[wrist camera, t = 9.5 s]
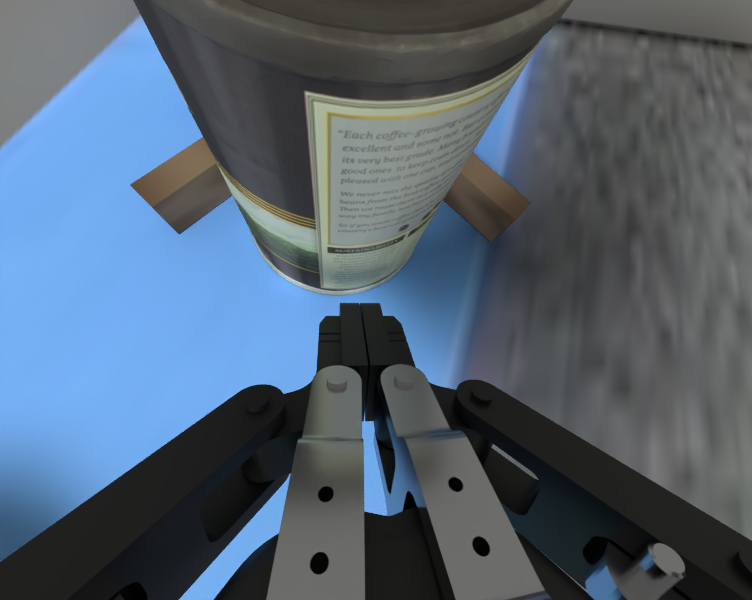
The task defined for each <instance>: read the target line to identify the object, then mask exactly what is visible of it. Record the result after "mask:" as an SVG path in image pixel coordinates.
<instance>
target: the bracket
mask: <svg viewBox="0 0 752 600" xmlns="http://www.w3.org/2000/svg"><path fill="white" fill-rule="evenodd" d="M131 186H132V187H133V188H134V189H135V191H136V192H137V193H138V194H139V195H140V196H141V197H142V198H143V199H144V200H145V201H146V202H147V203H148V204H149V205H150V206H151V207H152V208H153V209H154V210H155V211H156V212H157V213H158V214H159V215H160V216H161V217H162V218H163V219H164V220H165V221H166V222H167V223H168V224H169V225H170V226H171V227H172V228H173V229H174V230H175V231H176V232H177V233H178V234H180V233H182V232H183V231H184V230H186V229H187V228H188V227H190V226H191V225H192V224H194V223H195V222H196V221H198V220H199V219H201V218H202V217H203V216H205V215H206V214H207V213H209V212H210V211H211V210H213V209H214V208H215V207H217V206H218V205H220V204H221V203H222V202H224V201H225V200H226V199H228V198H229V197H230V196H232V193H231V191H230V189H229V187H228V185H227V183H226V181H225V179H224V177H223V175H222V173H221V171H220V169H219V167H218V165H217V163H216V161H215V159H214V157H213V155H212V153H211V151H210V149H209V147H208V145H207V143H206V141H205V139H204V137H203V138H201V139H200V140H198V141H197V142H195V143H193V144H192V145H190V146H189V147H187V148H186V149H184V150H183V151H181V152H180V153H178V154H177V155H175V156H174V157H172V158H170V159H169V160H167V161H166V162H164V163H163V164H161V165H160V166H158V167H157V168H155V169H154V170H152V171H151V172H149V173H147V174H146V175H144V176H143V177H141V178H140V179H138V180H137V181H135V182H134V183H132V184H131ZM444 201H445V202H446V203H447V204H448V205H449V206H450V207H452V208H453V209H454V210H455V211H456V212H457V213H458V214H460V215H461V216H462V217H463V218H464V219H465V220H466V221H468V222H469V223H470V224H471V225H472V226H473V227H474V228H476V229H477V230H478V231H479V232H480V233H481V234H482V235H484V236H485V237H486V238H487V239H488V240H489V241H490V242H492V241H493V240H494V239H495V238H496V237H497V236H498V235H500V234H501V233H502V232H503V231H504V230H505V229H506V228H507V227H508V226H509V225H510V224H512V223H513V222H514V221H515V220H516V219H517V218H518V217H519V215H520V214H521V213H522V212H523V211H524V210H525V209H526V208H527V207H528V205H529V204H530V203H531V202H529V201H528V200H527V199H526V198H525V197H524V196H522V195H521V194H520V193H519V192H518V191H517V190H515V189H514V188H513V187H512V186H511V185H510V184H508V183H507V182H506V181H505V180H504V179H502V178H501V177H500V176H499V175H498V174H497V173H495V172H494V171H493V170H492V169H491V168H490V167H488V166H487V165H486V164H485V163H484V162H482V161H481V160H480V159H479V158H478V157H477V156H475V155H474V154H473V153H472V154H471V155H470V157H469V159H468V160H467V162H466V163H465V165H464V167H463V168H462V170H461V172H460V173H459V175H458V177H457V178H456V180H455V182H454V183H453V185H452V186H451V188H450V190H449V191H448V193H447V195H446V197H445V198H444Z"/></svg>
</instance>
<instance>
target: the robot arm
mask: <svg viewBox="0 0 752 600" xmlns="http://www.w3.org/2000/svg"><path fill="white" fill-rule="evenodd" d="M364 412H365V421H374V428H375V433H374V447H375V452H376V457H377V461H378V466H379V471H380V475H381V480H382V485H383V490H384V494H385V499H386V506H387V516H383V515H378V514H373V513H368V512H364V447H363V439H362V421H364ZM493 444H494V445H496V446H497V447H498V448H500V449H501V450H503V451H504V452H505V453H507V454H508V455H510V456H511V457H512V458H514V459H515V460H517V461H518V462H519V463H521V464H522V465H524V466H525V467H526V468H528V469H529V470H530V471H532V472H533V473H534V474H535V475H536V476H537V478H538V479H539V480H537V479H534V478H533V477H531V476H530V475H528V474H527V473H525V472H524V471H523V470H521V469H520V468H519V467H517V466H516V465H514V464H513V463H512V462H510V461H509V460H508V459H506V458H505V457H503V456H502V455H501V454H499V453H498V452H497V451H495V450H494V449H492V448H491V447H492V445H493ZM290 473H291V476H290V481H289V486H288V491H287V496H286V501H285V506H284V511H283V516H282V522H281V527H280V532H279V534H277V535H275V536H274V537H272V538H271V539H269V540H268V541H266V542H265V543H264V544H263V545H261V546H260V547H259V548H258V549H257V550H255V551H254V552H253V553H252V554H251V555H250V556H249V557H248V558H247V559H246V560H245V561H244V562H243V564H242V565H241V566H240V567H239V568H238V570H237V571H236V572H235V573H234V575H233V576H232V577H231V578H230V580H229V581H228V582H227V583H226V585H225V586H224V587H223V589H222V590H221V591H220V592H219V594H218V595H217V596H216V597H215V599H214V600H752V541H751V540H749V539H748V538H746V537H744V536H743V535H741V534H739V533H738V532H736V531H735V530H733V529H731V528H730V527H728V526H726V525H725V524H723V523H721V522H720V521H718V520H716V519H715V518H713V517H711V516H710V515H708V514H706V513H705V512H703V511H701V510H700V509H698V508H696V507H695V506H693V505H691V504H690V503H688V502H686V501H685V500H683V499H681V498H680V497H678V496H676V495H675V494H673V493H671V492H670V491H668V490H666V489H665V488H663V487H661V486H660V485H658V484H656V483H655V482H653V481H651V480H650V479H648V478H646V477H645V476H643V475H641V474H640V473H638V472H636V471H635V470H633V469H631V468H630V467H628V466H626V465H625V464H623V463H621V462H620V461H618V460H616V459H615V458H613V457H611V456H610V455H608V454H606V453H605V452H603V451H601V450H600V449H598V448H596V447H595V446H593V445H591V444H590V443H588V442H586V441H585V440H583V439H581V438H580V437H578V436H576V435H575V434H573V433H571V432H570V431H568V430H566V429H565V428H563V427H561V426H560V425H558V424H556V423H555V422H553V421H551V420H550V419H548V418H546V417H545V416H543V415H541V414H540V413H538V412H536V411H535V410H533V409H531V408H530V407H528V406H526V405H525V404H523V403H521V402H520V401H518V400H516V399H515V398H513V397H511V396H510V395H508V394H506V393H505V392H503V391H501V390H500V389H498V388H496V387H495V386H493V385H491V384H489V383H487V382H484V381H481V380H466V381H464V382H462V383H460V384H459V385H458V387H457V390H453V389H449V388H444V387H440V386H436V385H434V384H431V383H430V382H428V380H427V378H426V376H425V375H424V374H423V372H421V371H420V370H419V369H417V368H416V367H415V364H414V361H413V358H412V355H411V352H410V349H409V346H408V343H407V342H406V337H405V334H404V331H403V328H402V325H401V323H400V322H399V321H398V320H397V319H396V318H395V317H394V316H383V314H382V310H381V306H380V303H360V305H359V303H340V315H339V316H325V318H324V319H323V320H322V321H321V323H320V325H319V343H318V358H317V372H316V375H315V376H314V378H313V380H312V381H311V383H309V384H308V385H307V386H305V387H304V388H302V389H299V390H297V391H294V392H290V393H286V394H283V393H282V391H281V390H280V389H278V388H276V387H274V386H271V385H263V384H261V385H254V386H250V387H248V388H245V389H243V390H241V391H240V392H238V393H237V394H236V395H234V396H233V397H231V398H230V399H228V400H227V401H226V402H224V403H223V404H221V405H220V406H219V407H217V408H216V409H214V410H213V411H212V412H210V413H209V414H207V415H206V416H205V417H203V418H202V419H200V420H199V421H198V422H196V423H195V424H193V425H192V426H191V427H189V428H188V429H186V430H185V431H184V432H182V433H181V434H179V435H178V436H177V437H175V438H174V439H172V440H171V441H170V442H168V443H167V444H165V445H164V446H163V447H161V448H160V449H158V450H157V451H156V452H154V453H153V454H151V455H150V456H149V457H147V458H146V459H144V460H143V461H142V462H140V463H139V464H137V465H136V466H134V467H133V468H132V469H130V470H129V471H127V472H126V473H125V474H123V475H122V476H120V477H119V478H118V479H116V480H115V481H113V482H112V483H111V484H109V485H108V486H106V487H105V488H104V489H102V490H101V491H99V492H98V493H97V494H95V495H94V496H92V497H91V498H90V499H88V500H87V501H85V502H84V503H83V504H81V505H80V506H78V507H77V508H76V509H74V510H73V511H71V512H70V513H69V514H67V515H66V516H64V517H63V518H62V519H60V520H59V521H57V522H56V523H55V524H53V525H52V526H50V527H49V528H48V529H46V530H45V531H43V532H42V533H40V534H39V535H38V536H36V537H35V538H33V539H32V540H31V541H29V542H28V543H26V544H25V545H24V546H22V547H21V548H19V549H18V550H17V551H15V552H14V553H12V554H11V555H10V556H8V557H7V558H5V559H4V560H3V561H1V562H0V600H179V599H180V598H181V596H182V595H183V594H184V593H185V592H186V591H187V590H188V589H189V588H190V587H191V585H192V584H193V583H194V582H195V581H196V580H197V579H198V578H199V577H200V575H201V574H202V573H203V572H204V571H205V570H206V569H207V568H208V567H209V565H210V564H211V563H212V562H213V561H214V560H215V559H216V558H217V557H218V555H219V554H220V553H221V552H222V551H223V550H224V549H225V548H226V547H227V545H228V544H229V543H230V542H231V541H232V540H233V539H234V538H235V537H236V536H237V534H238V533H239V532H240V531H241V530H242V529H243V528H244V527H245V526H246V524H247V523H248V522H249V521H250V520H251V519H252V518H253V517H254V516H255V514H256V513H257V512H258V511H259V510H260V509H261V508H262V507H263V506H264V504H265V503H266V502H267V501H268V500H269V499H270V498H271V497H272V496H273V494H274V493H275V492H276V491H277V490H278V489H279V488H280V487H281V486H282V484H283V483H284V482H285V481H286V479H287V478H288V476H289V474H290ZM513 528H514V529H513ZM516 530H517V531H518V532H517V531H516ZM536 547H537V548H538V549H537V548H536ZM542 552H543V553H544V554H545V555H546V556H547V557H546V556H545V555H544V554H543V553H542ZM549 558H550V559H551V560H552V561H553V562H554V563H555V564H557V565H558V566H559V567H560V568H561V569H563V570H564V571H565V572H566V573H567V574H568V575H570V576H571V577H572V578H573V579H574V580H575V581H577V582H578V583H579V584H580V585H581V586H582V587H584V588H585V589H586V590H587V592H586V591H584V590H583V589H582V588H581V587H580V586H579V585H578V584H577V583H575V582H574V581H573V580H572V579H571V578H570V577H569V576H568V575H567V574H565V573H564V572H563V571H562V570H561V569H560V568H559V567H558V566H556V565H555V564H554V563H553V562H552V561H551V560H550V559H549Z"/></svg>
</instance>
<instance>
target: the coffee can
mask: <svg viewBox="0 0 752 600" xmlns="http://www.w3.org/2000/svg"><path fill="white" fill-rule="evenodd" d="M572 1H573V0H134V2H135V4H136V6H137V8H138V10H139V12H140V14H141V16H142V18H143V20H144V22H145V24H146V26H147V28H148V30H149V32H150V34H151V36H152V38H153V40H154V42H155V44H156V46H157V48H158V50H159V52H160V54H161V56H162V58H163V60H164V61H165V63H166V64H167V66H168V68H169V70H170V72H171V74H172V76H173V79H174V81H175V83H176V85H177V87H178V89H179V91H180V92H181V94H182V96H183V99H184V101H185V103H186V105H187V107H188V109H189V111H190V113H191V114H192V116H193V118H194V120H195V122H196V124H197V126H198V128H199V129H200V131H201V133H202V135H203V137H204V139H205V141H206V143H207V145H208V147H209V149H210V151H211V153H212V155H213V157H214V159H215V161H216V163H217V165H218V167H219V169H220V171H221V173H222V175H223V177H224V179H225V181H226V183H227V185H228V187H229V189H230V191H231V193H232V195H233V197H234V199H235V201H236V203H237V205H238V207H239V209H240V211H241V213H242V215H243V217H244V218H245V221H246V223H247V225H248V226H249V228H250V230H251V233H252V236H253V239H254V241H255V244H256V246H257V248H258V250H259V252H260V253H261V255H262V257H263V258H264V259H265V260H266V262H267V263H268V264H269V265H270V266H271V267H272V268H273V269H274V270H275V271H276V272H277V273H278V274H279V275H281V276H282V277H284V278H285V279H286V280H288V281H290V282H291V283H293V284H295V285H297V286H299V287H302V288H304V289H307V290H310V291H313V292H317V293H321V294H328V295H348V294H355V293H360V292H364V291H367V290H370V289H372V288H375V287H377V286H379V285H381V284H383V283H385V282H386V281H388V280H390V279H391V278H392V277H393V276H395V275H396V274H397V273H398V272H399V271H400V270H401V269H402V268H403V267H404V265H405V264H406V263H407V261H408V260H409V258H410V257H411V255H412V253H413V251H414V249H415V247H416V244H417V242H418V241H419V239H420V238H421V236H422V234H423V233H424V231H425V229H426V228H427V226H428V224H429V223H430V221H431V219H432V218H433V216H434V214H435V213H436V211H437V209H438V208H439V206H440V205H441V203H442V201H443V200H444V198H445V197H446V195H447V193H448V191H449V190H450V188H451V186H452V185H453V183H454V182H455V180H456V178H457V177H458V175H459V173H460V172H461V170H462V168H463V167H464V165H465V163H466V162H467V160H468V159H469V157H470V155H471V154H472V152H473V150H474V149H475V147H476V145H477V144H478V142H479V141H480V139H481V137H482V136H483V134H484V132H485V131H486V129H487V127H488V126H489V124H490V122H491V121H492V119H493V118H494V116H495V114H496V113H497V111H498V109H499V108H500V106H501V104H502V103H503V101H504V100H505V98H506V96H507V95H508V93H509V91H510V90H511V88H512V87H513V85H514V83H515V82H516V80H517V78H518V77H519V75H520V73H521V72H522V70H523V69H524V67H525V65H526V64H527V62H528V60H529V59H530V57H531V55H532V54H533V52H534V51H535V49H536V47H537V46H538V44H539V42H540V41H541V39H542V37H543V36H544V35H545V34H546V33H547V32H548V31H549V30H550V29H551V28H552V27H553V26H554V25H555V24H556V23H557V21H558V20H559V19H560V18H561V16H562V15H563V13H564V12H565V11H566V9H567V8H568V7H569V5H570V4H571V2H572Z"/></svg>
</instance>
